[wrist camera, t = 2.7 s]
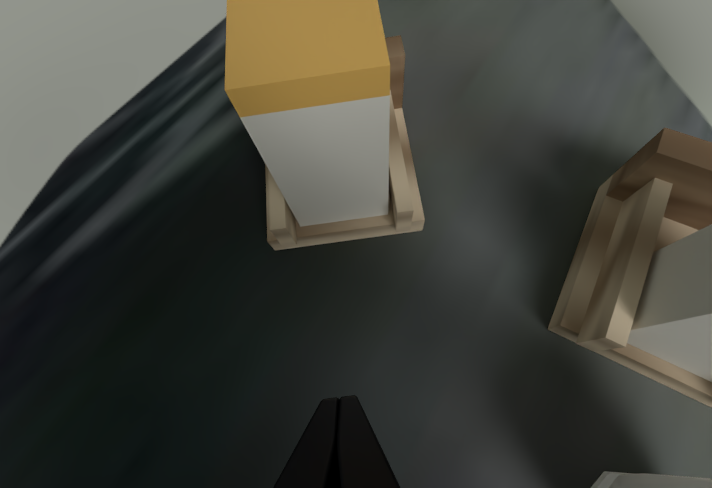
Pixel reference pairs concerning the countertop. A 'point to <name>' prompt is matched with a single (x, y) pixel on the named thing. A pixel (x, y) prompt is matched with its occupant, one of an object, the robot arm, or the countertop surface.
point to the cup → (649, 481)
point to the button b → (678, 305)
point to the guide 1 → (401, 194)
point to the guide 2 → (636, 252)
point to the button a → (314, 101)
